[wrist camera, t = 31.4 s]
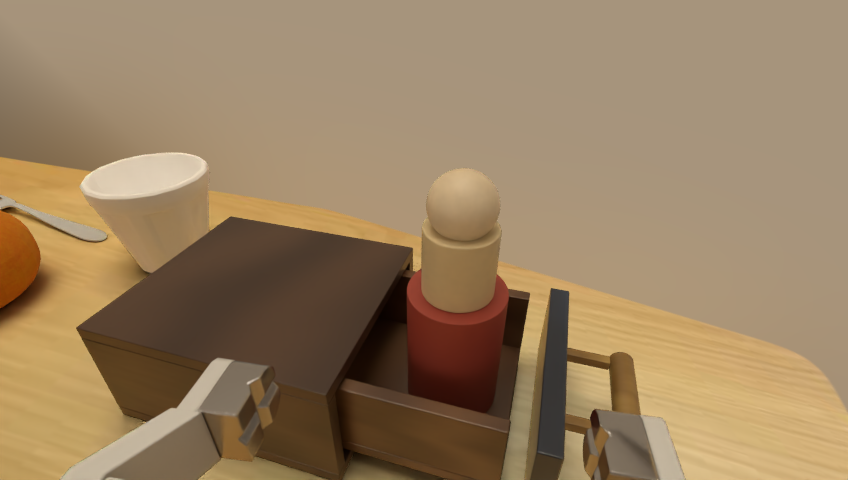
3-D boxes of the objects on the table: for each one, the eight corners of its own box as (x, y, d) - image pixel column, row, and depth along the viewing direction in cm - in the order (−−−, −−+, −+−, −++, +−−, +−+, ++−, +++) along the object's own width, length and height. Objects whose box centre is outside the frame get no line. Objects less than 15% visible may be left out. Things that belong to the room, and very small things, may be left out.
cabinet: (413, 325, 36) (413, 247, 32) (340, 483, 25) (326, 395, 21) (249, 289, 40) (230, 216, 36) (122, 413, 29) (75, 327, 25)
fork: (89, 247, 46) (82, 232, 45) (-46, 203, 53) (-54, 190, 52) (118, 232, 48) (112, 218, 47) (-15, 192, 56) (-22, 179, 55)
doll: (467, 345, 32) (484, 143, 24) (512, 405, 27) (552, 184, 19) (394, 370, 30) (387, 159, 22) (431, 439, 25) (438, 208, 17)
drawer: (615, 365, 32) (636, 303, 29) (631, 553, 22) (667, 487, 18) (372, 313, 36) (368, 254, 33) (292, 448, 26) (275, 382, 23)
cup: (218, 284, 41) (191, 193, 36) (99, 295, 39) (53, 201, 34) (238, 229, 49) (218, 149, 44) (140, 236, 47) (108, 154, 42)
